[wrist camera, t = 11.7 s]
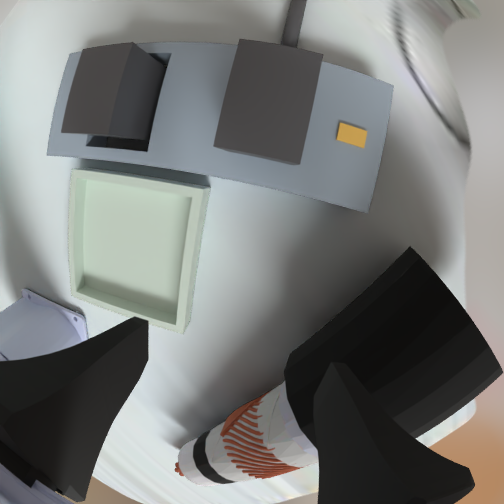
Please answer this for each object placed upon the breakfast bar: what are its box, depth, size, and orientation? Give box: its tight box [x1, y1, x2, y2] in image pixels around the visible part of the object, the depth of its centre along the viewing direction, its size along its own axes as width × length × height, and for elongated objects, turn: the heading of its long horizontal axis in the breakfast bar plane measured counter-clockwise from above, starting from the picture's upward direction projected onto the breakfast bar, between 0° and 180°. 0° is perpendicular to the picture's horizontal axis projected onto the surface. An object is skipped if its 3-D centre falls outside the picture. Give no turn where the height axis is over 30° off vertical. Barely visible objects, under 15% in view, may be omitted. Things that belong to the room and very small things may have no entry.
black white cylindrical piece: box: [175, 247, 503, 486], centre depth 19 cm, size 10×34×10 cm, turn 139°
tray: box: [68, 168, 211, 334], centre depth 18 cm, size 10×10×2 cm
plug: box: [61, 42, 167, 141], centre depth 13 cm, size 4×5×6 cm
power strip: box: [47, 0, 394, 214], centre depth 11 cm, size 22×16×6 cm
